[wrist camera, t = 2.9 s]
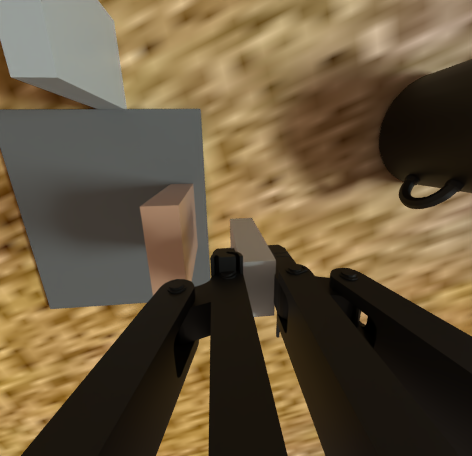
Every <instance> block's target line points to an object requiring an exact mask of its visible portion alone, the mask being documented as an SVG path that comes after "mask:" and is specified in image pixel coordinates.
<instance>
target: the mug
mask: <svg viewBox="0 0 472 456" xmlns="http://www.w3.org/2000/svg"><path fill="white" fill-rule="evenodd" d="M379 149H380V154H381V158H382V160H383V163H384V165H385V166H386V168H387V169H388V170H389V171H390V172H391V174H392V175H393V176H395V177H396V178H398V179H399V180H401V181H404V183H403V184H402V186H401V188H400V190H399V198H400V200H401V202H402V203H403V204H404V205H405V206H407V207H409V208H412V209H424V208H428V207H432V206H435V205H437V204H440V203H442V202H444V201H446V200H447V199H449V198H450V197H451V196H453V195H454V194H455V193H456V192H459V191H462V192H468V193H472V59H471V60H468V61H465V62H463V63H460V64H457V65H454V66H452V67H449V68H446V69H443V70H440V71H438V72H435V73H432V74H429V75H427V76H424V77H422V78H420V79H418V80H416V81H415V82H413V83H412V84H410V85H409V86H408V87H407V88H405V89H404V90H403V91H402V92H401V93H400V94H399V96H398V97H397V98H396V99H395V100H394V101H393V103H392V104H391V106H390V107H389V109H388V111H387V113H386V115H385V117H384V120H383V123H382V126H381V130H380V137H379ZM417 184H418V185H424V186H431V187H437V188H441V189H440V190H439V191H437V192H436V193H434V194H432V195H429V196H427V197H423V198H414V197H412V196H411V190H412V188H413V187H414V185H417Z"/></svg>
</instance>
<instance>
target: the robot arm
mask: <svg viewBox="0 0 472 456" xmlns="http://www.w3.org/2000/svg"><path fill="white" fill-rule="evenodd" d="M230 239H231V248H222V249H216V250H215V251H214V252H213V255H212V256H211V258H210V260H211V279H210V280H209V281H208V282H206V283H204V284H202V285H199V286H195V287H194V284H193V282H191V281H189V280H185V279H175V280H171V281H169V282H167V283H164V284H163V285H162V286H161V287H160V288H159V289H158V290H157V292H156V293H155V294H154V295H153V296H152V298H151V299H150V300H149V301H148V303H147V304H146V305H145V306H144V307H143V309H142V310H141V311H140V312H139V313H138V315H137V316H136V317H135V318H134V319H133V321H132V322H131V323H130V324H129V326H128V327H127V328H126V329H125V330H124V332H123V333H122V334H121V335H120V336H119V338H118V339H117V340H116V341H115V342H114V344H113V345H112V346H111V347H110V349H109V350H108V351H107V352H106V353H105V355H104V356H103V357H102V358H101V359H100V361H99V362H98V363H97V364H96V365H95V367H94V368H93V369H92V370H91V371H90V373H89V374H88V375H87V376H86V378H85V379H84V380H83V381H82V382H81V384H80V385H79V386H78V387H77V388H76V390H75V391H74V392H73V393H72V394H71V396H70V397H69V398H68V399H67V401H66V402H65V403H64V404H63V405H62V407H61V408H60V409H59V410H58V411H57V413H56V414H55V415H54V416H53V417H52V419H51V420H50V421H49V422H48V424H47V425H46V426H45V427H44V428H43V430H42V431H41V432H40V433H39V434H38V436H37V437H36V438H35V439H34V440H33V442H32V443H31V444H30V445H29V446H28V448H27V449H26V450H25V451H24V453H23V454H22V455H21V456H156V454H157V451H158V449H159V446H160V444H161V441H162V438H163V436H164V433H165V431H166V428H167V425H168V423H169V420H170V418H171V415H172V412H173V410H174V407H175V405H176V402H177V399H178V397H179V394H180V391H181V389H182V386H183V384H184V381H185V378H186V376H187V373H188V371H189V368H190V365H191V363H192V360H193V358H194V355H195V352H196V350H197V347H198V344H199V339H201V338H204V337H207V336H210V335H211V337H210V400H209V456H287V452H286V448H285V443H284V439H283V435H282V431H281V427H280V423H279V419H278V415H277V411H276V407H275V402H274V398H273V394H272V390H271V386H270V382H269V378H268V374H267V370H266V366H265V361H264V357H263V353H262V349H261V345H260V341H259V337H258V333H257V329H256V325H255V320H254V317H259V316H272V315H274V305H275V307H276V310H277V327H276V337H279V333H280V332H281V335H282V338H283V340H284V343H285V346H286V349H287V351H288V354H289V357H290V360H291V362H292V365H293V368H294V371H295V373H296V376H297V379H298V382H299V384H300V387H301V390H302V393H303V395H304V398H305V401H306V404H307V406H308V409H309V412H310V415H311V417H312V420H313V423H314V426H315V428H316V431H317V434H318V437H319V439H320V442H321V445H322V448H323V450H324V453H325V456H472V336H470V335H468V334H466V333H465V332H463V331H461V330H459V329H458V328H456V327H454V326H453V325H451V324H449V323H447V322H446V321H444V320H442V319H440V318H439V317H437V316H435V315H433V314H432V313H430V312H428V311H426V310H425V309H423V308H421V307H419V306H418V305H416V304H414V303H412V302H411V301H409V300H407V299H406V298H404V297H402V296H400V295H399V294H397V293H395V292H393V291H392V290H390V289H388V288H386V287H385V286H383V285H381V284H379V283H378V282H376V281H374V280H372V279H371V278H369V277H367V276H365V275H364V274H362V273H360V272H358V271H356V270H352V269H350V268H336V269H334V270H332V271H331V273H330V278H325V277H317V276H314V275H313V273H312V272H311V271H310V270H309V269H308V268H307V267H305V266H303V265H299V264H296V263H295V261H294V260H293V259H292V257H291V256H290V255H289V253H288V252H287V251H286V249H285V248H284V247H282V246H280V245H267V244H266V242H265V240H264V238H263V237H262V235H261V233H260V231H259V230H258V228H257V226H256V224H255V223H254V221H253V219H252V218H242V219H230ZM361 311H362V312H363V313H365V314H366V315H367V316H368V319H367V324H366V325H364V324H363V323H361V322H360V321H359V320H360V314H361Z"/></svg>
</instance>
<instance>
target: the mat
mask: <svg viewBox="0 0 472 456" xmlns="http://www.w3.org/2000/svg"><path fill="white" fill-rule="evenodd" d="M0 148H1V152H2V155H3V158H4V161H5V165H6V168H7V171H8V174H9V177H10V181H11V184H12V187H13V190H14V193H15V197H16V200H17V203H18V206H19V209H20V213H21V216H22V219H23V222H24V226H25V229H26V232H27V235H28V238H29V242H30V245H31V248H32V251H33V254H34V258H35V261H36V264H37V267H38V270H39V274H40V277H41V280H42V283H43V287H44V290H45V293H46V296H47V299H48V303H49V306H50V309H58V308H73V307H88V306H103V305H118V304H133V303H148V301H149V300H150V299H151V298H152V296H153V293H152V286H151V279H150V273H149V266H148V259H147V252H146V246H145V239H144V232H143V225H142V218H141V212H140V206H141V205H143V204H144V203H145V202H147V201H148V200H149V199H151V198H152V197H154V196H155V195H156V194H158V193H159V192H160V191H162V190H163V189H165V188H166V187H167V186H169V185H170V184H193V187H194V201H195V214H196V228H197V242H198V248H197V253H196V259H195V265H194V271H193V276H192V282H193V284H194V287H195V286H199V285H202V284H204V283H206V282H208V281H209V280H210V264H209V247H208V229H207V212H206V195H205V177H204V160H203V143H202V125H201V110H200V109H27V110H0Z"/></svg>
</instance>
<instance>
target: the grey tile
mask: <svg viewBox="0 0 472 456" xmlns="http://www.w3.org/2000/svg"><path fill="white" fill-rule="evenodd" d="M0 40H1V44H2V48H3V51H4V55H5V58H6V62H7V66H8V69H9V73H10V77H11V78H14V79H17V80H20V81H22V82H25V83H28V84H30V85H33V86H36V87H39V88H41V89H44V90H47V91H50V92H52V93H55V94H58V95H60V96H63V97H66V98H69V99H71V100H74V101H77V102H80V103H82V104H85V105H88V106H90V107H93V108H96V109H127V107H126V100H125V93H124V86H123V80H122V73H121V66H120V59H119V52H118V45H117V39H116V32H115V25H114V20H113V19H112V18H111V17H110V15H109V14H108V13H107V11H106V10H105V9H104V7H103V6H102V5H101V3H100V2H99V1H98V0H0Z"/></svg>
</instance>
